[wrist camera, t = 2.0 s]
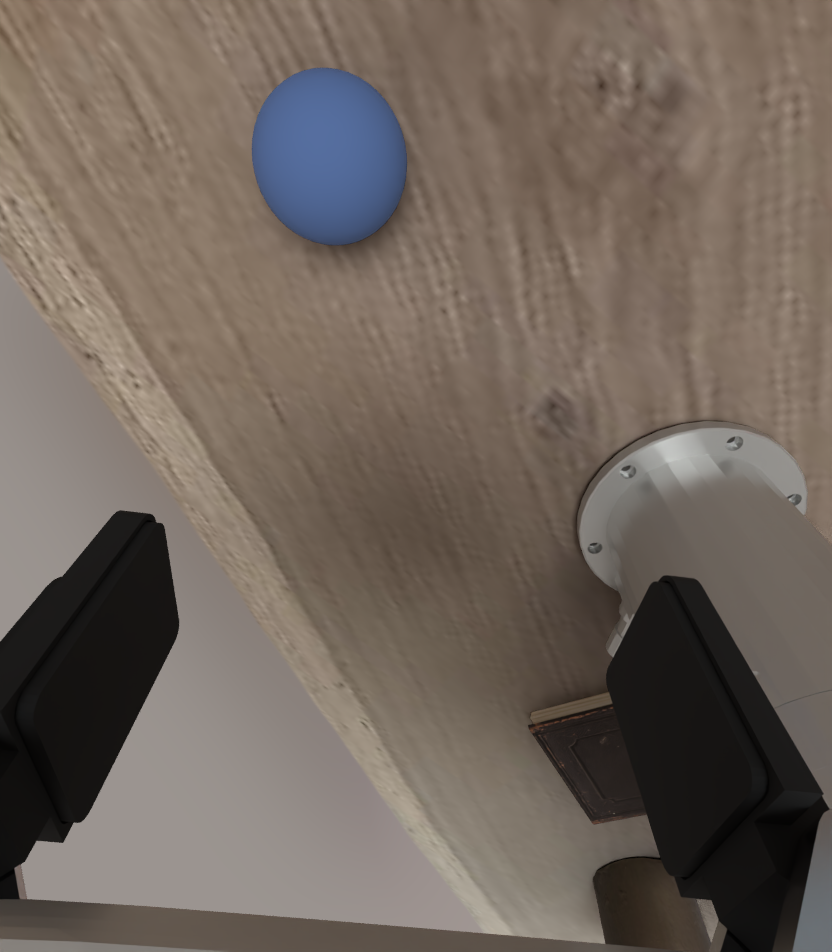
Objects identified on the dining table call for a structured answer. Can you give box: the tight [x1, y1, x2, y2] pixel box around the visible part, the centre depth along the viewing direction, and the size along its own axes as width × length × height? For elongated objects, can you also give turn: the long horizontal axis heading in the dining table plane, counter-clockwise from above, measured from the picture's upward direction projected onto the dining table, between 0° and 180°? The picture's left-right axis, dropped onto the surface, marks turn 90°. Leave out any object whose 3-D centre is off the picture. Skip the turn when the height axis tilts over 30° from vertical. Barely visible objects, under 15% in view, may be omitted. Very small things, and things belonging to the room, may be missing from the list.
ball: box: [252, 68, 407, 245], centre depth 21 cm, size 6×6×6 cm
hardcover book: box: [528, 692, 647, 824], centre depth 43 cm, size 16×23×2 cm
